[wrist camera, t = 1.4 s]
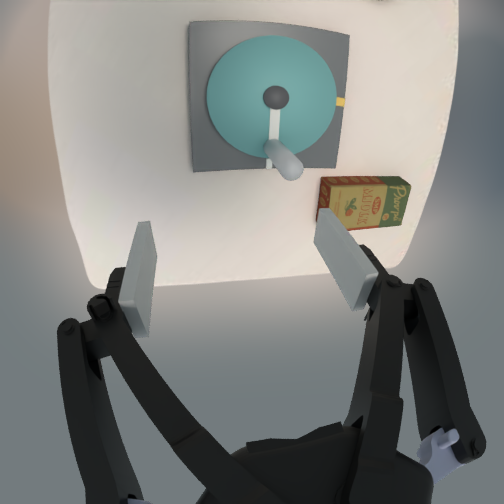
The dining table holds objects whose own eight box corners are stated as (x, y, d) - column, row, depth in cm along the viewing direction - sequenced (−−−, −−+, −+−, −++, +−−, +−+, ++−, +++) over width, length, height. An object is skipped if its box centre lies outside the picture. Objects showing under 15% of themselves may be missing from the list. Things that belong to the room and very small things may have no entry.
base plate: (190, 24, 24) (189, 21, 23) (342, 35, 27) (350, 35, 26) (193, 167, 37) (193, 173, 35) (329, 163, 40) (336, 169, 38)
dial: (206, 35, 24) (209, 22, 17) (335, 45, 27) (377, 44, 19) (208, 157, 34) (211, 187, 27) (325, 155, 36) (358, 183, 29)
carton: (319, 175, 41) (331, 186, 38) (399, 175, 43) (414, 185, 40) (314, 221, 46) (324, 235, 43) (390, 215, 48) (402, 227, 45)
